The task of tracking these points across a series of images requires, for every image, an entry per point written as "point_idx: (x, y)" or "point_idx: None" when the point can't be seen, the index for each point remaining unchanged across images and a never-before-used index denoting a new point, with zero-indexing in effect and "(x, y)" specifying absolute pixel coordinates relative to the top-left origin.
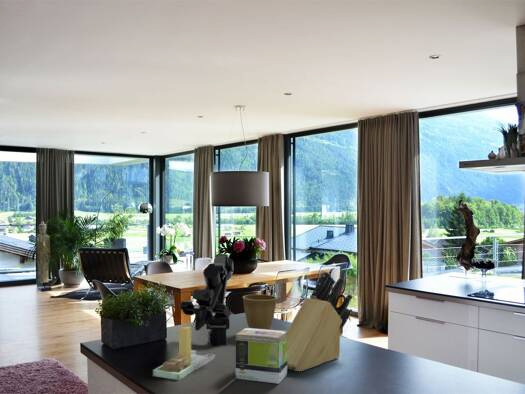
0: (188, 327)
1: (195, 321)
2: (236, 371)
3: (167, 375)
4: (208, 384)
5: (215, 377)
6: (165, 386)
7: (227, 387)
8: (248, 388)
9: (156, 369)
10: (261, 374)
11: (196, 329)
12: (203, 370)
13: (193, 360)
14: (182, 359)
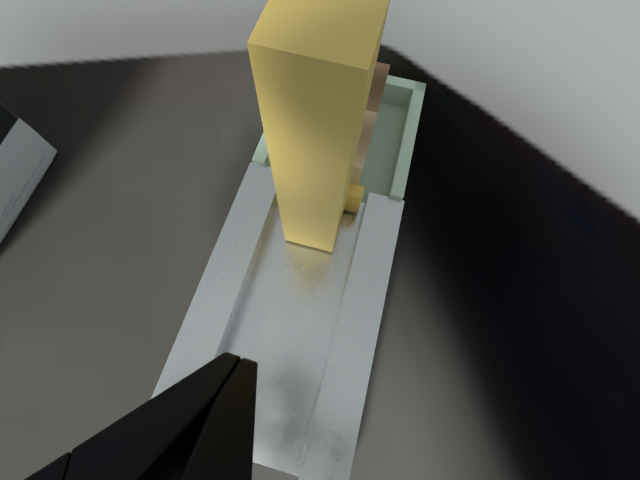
0: (278, 9)
1: (248, 470)
2: (29, 128)
3: None
4: (180, 92)
5: (153, 160)
6: None
7: (104, 73)
8: (21, 72)
9: (414, 92)
10: None
11: (239, 360)
12: None
13: (289, 334)
14: None
